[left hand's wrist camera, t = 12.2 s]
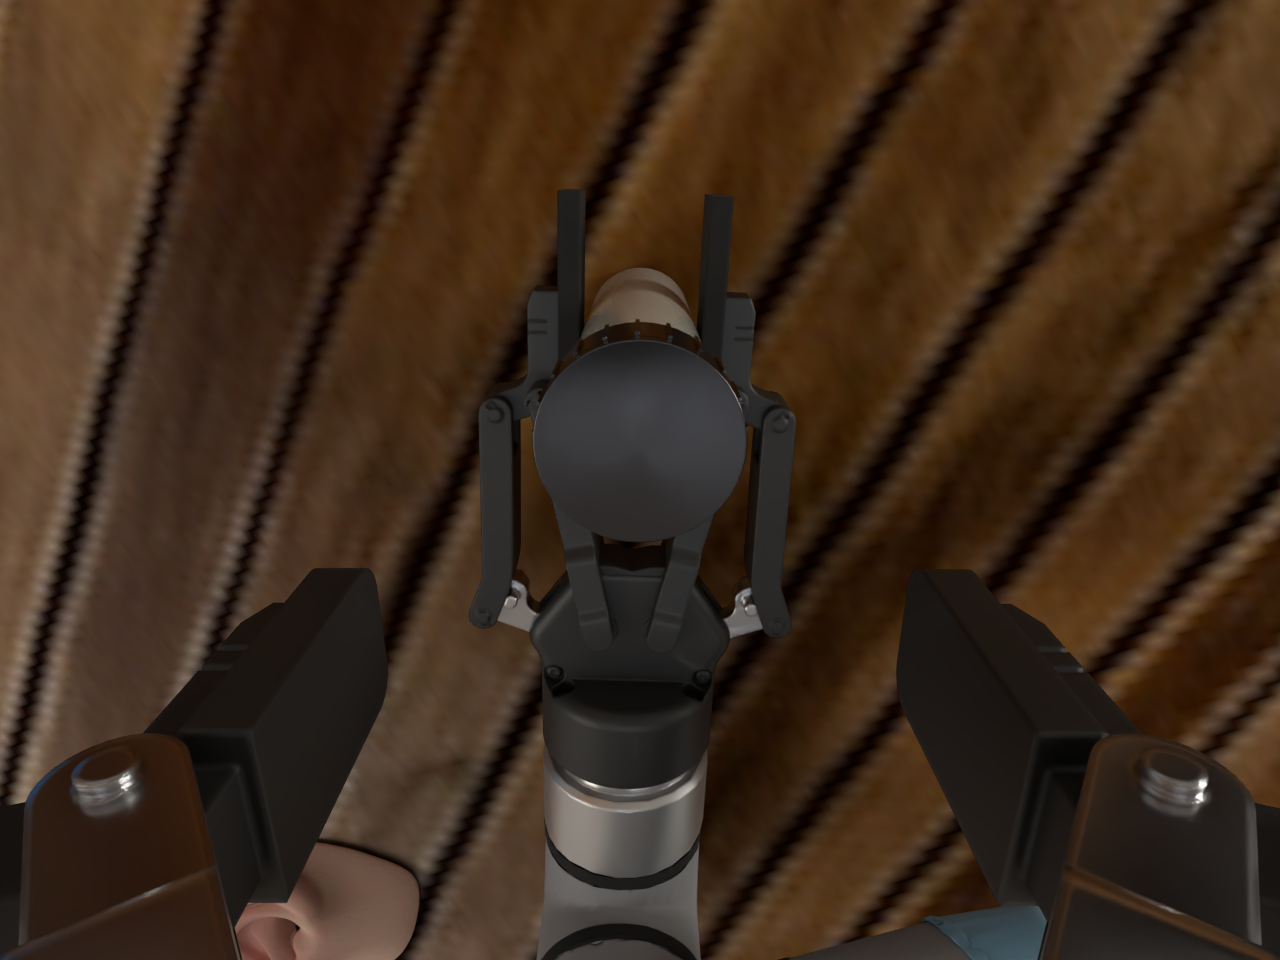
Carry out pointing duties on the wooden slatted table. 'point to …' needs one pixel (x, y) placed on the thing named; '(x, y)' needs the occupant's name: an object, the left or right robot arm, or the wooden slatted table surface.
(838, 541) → the wooden slatted table surface
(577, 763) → the right robot arm
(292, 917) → the anatomical model
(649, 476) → the lid
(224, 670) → the left robot arm
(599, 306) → the cream bottle
